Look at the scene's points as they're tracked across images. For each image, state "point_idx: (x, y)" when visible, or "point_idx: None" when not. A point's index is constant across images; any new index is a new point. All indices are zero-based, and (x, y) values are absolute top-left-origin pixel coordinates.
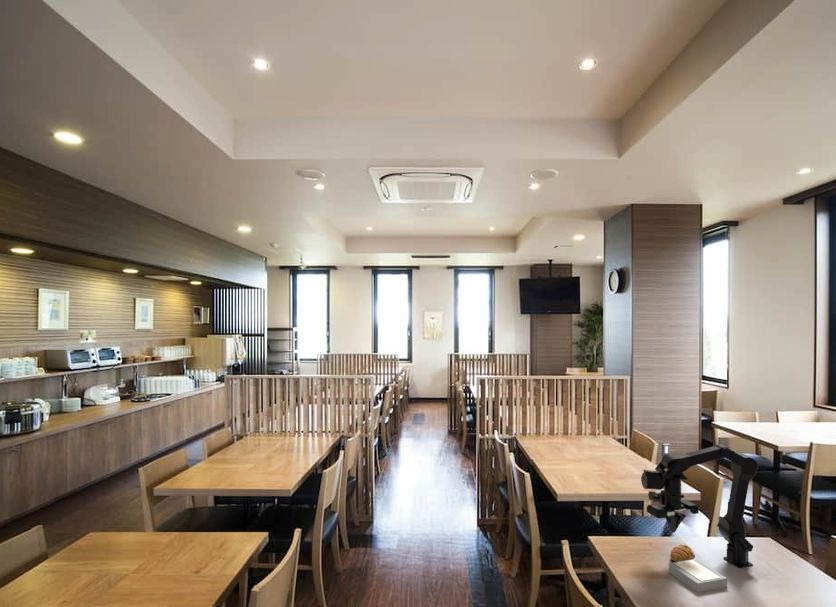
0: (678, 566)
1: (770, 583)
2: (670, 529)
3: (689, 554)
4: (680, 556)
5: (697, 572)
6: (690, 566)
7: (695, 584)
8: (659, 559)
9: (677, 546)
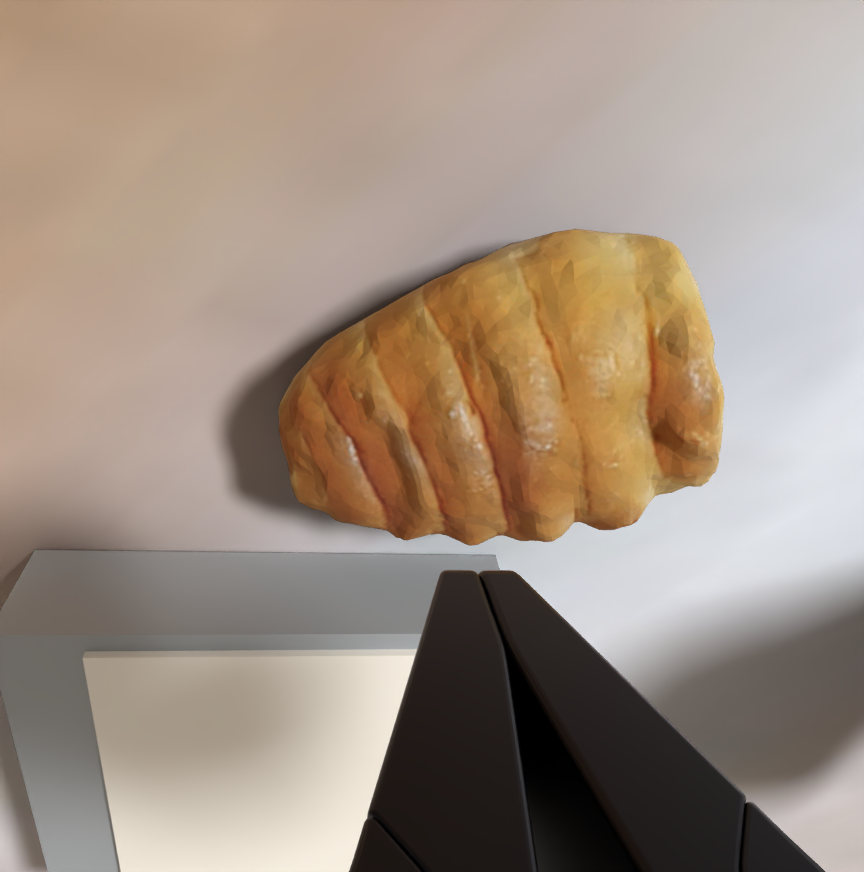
0: (88, 711)
1: (847, 831)
2: (432, 614)
3: (543, 541)
4: (374, 518)
5: (225, 836)
6: (251, 750)
7: None
8: (140, 267)
9: (570, 347)
